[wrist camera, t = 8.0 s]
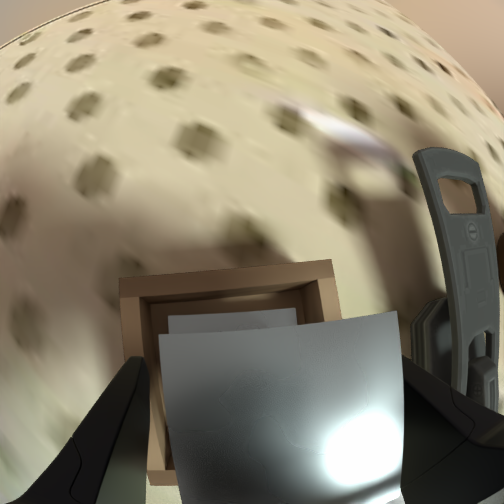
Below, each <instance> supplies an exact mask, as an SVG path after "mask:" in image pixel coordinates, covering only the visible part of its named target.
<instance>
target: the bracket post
mask: <svg viewBox="0 0 504 504" xmlns="http://www.w3.org/2000/svg"><path fill="white" fill-rule="evenodd" d="M168 326H169V334H159V349H160V362H161V373H162V383H163V393H164V401H165V409H166V417H167V424H168V431H169V438H170V444H171V450H172V456H173V461H174V467H175V472H176V477H177V482H178V486H179V491H180V496H181V500H182V504H384V503H386V502H388V501H390V500H393V499H395V498H397V497H399V492H400V483H401V473H402V459H403V438H404V392H403V371H402V356H401V344H400V334H399V325H398V317H397V311H391V312H386V313H380V314H374V315H368V316H362V317H356V318H349V319H342V320H335V321H328V322H320V323H312V324H304V325H297V317H296V308H287V309H275V310H263V311H250V312H235V313H219V314H199V315H172V316H168Z"/></svg>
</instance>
